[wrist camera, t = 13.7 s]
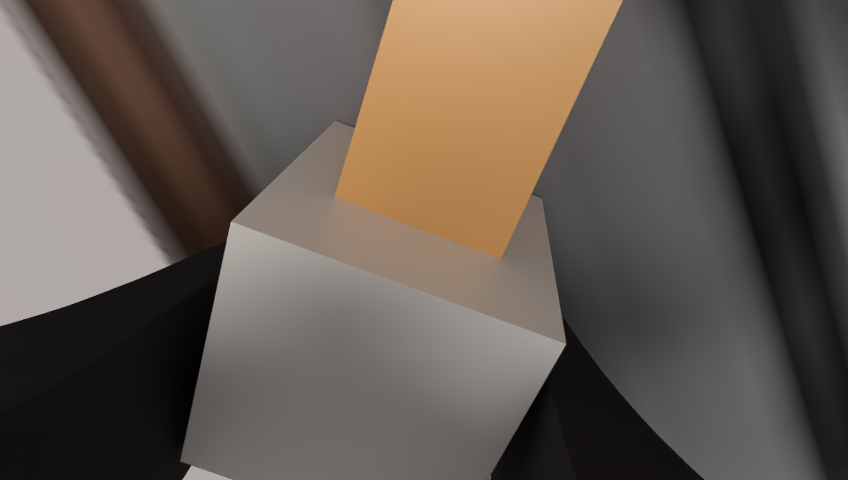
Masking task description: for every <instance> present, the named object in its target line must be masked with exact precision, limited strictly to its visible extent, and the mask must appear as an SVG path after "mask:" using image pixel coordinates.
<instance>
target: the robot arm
mask: <svg viewBox="0 0 848 480" xmlns="http://www.w3.org/2000/svg"><path fill="white" fill-rule="evenodd" d="M226 243H227V242H225V243H222V244H220V245H217V246H215V247H212V248H210V249H207V250H205V251H203V252H200V253H198V254H196V255H193V256H191V257H189V258H186V259H184V260H182V261H180V262H177V263H175V264H173V265H170V266H168V267H166V268H163V269H161V270H159V271H156V272H154V273H152V274H149V275H147V276H145V277H142V278H140V279H137V280H135V281H132V282H130V283H127V284H124V285H122V286H119V287H117V288H114V289H112V290H109V291H106V292H104V293H101V294H98V295H96V296H93V297H90V298H88V299H85V300H83V301H80V302H77V303H74V304H71V305H69V306H66V307H63V308H60V309H56V310H53V311H50V312H47V313H44V314H41V315H37V316H34V317H31V318H27V319H24V320H21V321H17V322H14V323H11V324H7V325H3V326H0V480H182V479H183V478H184V476H185V475H186V473H187V471H188V470H189V468H190V467H191V465H189V464H186V463H184V462H181V461H180V460H181V456H182V451H183V446H184V442H185V437H186V432H187V427H188V423H189V418H190V413H191V408H192V404H193V399H194V394H195V389H196V385H197V380H198V375H199V371H200V366H201V361H202V356H203V352H204V347H205V342H206V337H207V333H208V328H209V323H210V318H211V314H212V309H213V304H214V299H215V295H216V290H217V285H218V281H219V276H220V271H221V266H222V262H223V257H224V252H225V247H226ZM562 321H563V327H564V333H565V339H566V346H565V347H564V349H563V351H562V352H561V354H560V356H559V358H558V359H557V361H556V363H555V364H554V366H553V368H552V370H551V371H550V373H549V375H548V377H547V378H546V380H545V382H544V383H543V385H542V387H541V389H540V390H539V392H538V394H537V396H536V397H535V399H534V401H533V402H532V404H531V406H530V408H529V409H528V411H527V413H526V414H525V416H524V418H523V420H522V421H521V423H520V425H519V427H518V428H517V430H516V432H515V433H514V435H513V437H512V439H511V440H510V442H509V444H508V446H507V447H506V449H505V451H504V452H503V454H502V456H501V458H500V459H499V461H498V463H497V464H496V466H495V468H494V470H493V471H492V473H491V480H704V479H703V478H702V477H701V476H700V475H699V474H697V473H696V472H695V471H694V470H693V469H692V468H691V467H690V466H689V465H688V464H687V463H686V462H685V461H684V460H683V459H682V458H681V457H680V456H679V455H677V454H676V453H675V452H674V451H673V450H672V449H671V448H670V447H669V446H668V445H667V444H666V443H665V442H664V441H663V440H662V439H661V438H660V437H659V436H658V435H657V434H656V433H655V432H654V431H653V430H652V429H651V428H650V426H649V425H648V424H647V423H646V422H645V421H644V420H643V419H642V418H641V417H640V416H639V415H638V413H637V412H636V411H635V410H634V409H633V408H632V406H631V405H630V404H629V403H628V402H627V401H626V400H625V398H624V397H623V396H622V395H621V394H620V393H619V392H618V390H617V389H616V388H615V387H614V385H613V384H612V383H611V382H610V381H609V379H608V378H607V377H606V376H605V374H604V373H603V372H602V371H601V369H600V368H599V367H598V365H597V364H596V363H595V361H594V360H593V359H592V357H591V356H590V355H589V353H588V352H587V351H586V349H585V348H584V347H583V345H582V344H581V343H580V341H579V340H578V338H577V337H576V335H575V334H574V333H573V331H572V330H571V328H570V327H569V326H568V324H567V323H566V321H565V320H564V318H563V317H562Z"/></svg>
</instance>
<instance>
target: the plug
mask: <svg viewBox="0 0 848 480" xmlns="http://www.w3.org/2000/svg"><path fill="white" fill-rule="evenodd" d="M622 1H623V0H393V2H392V5H391V9H390V12H389V15H388V19H387V22H386V25H385V29H384V32H383V35H382V39H381V42H380V45H379V49H378V52H377V55H376V59H375V62H374V66H373V69H372V72H371V76H370V79H369V82H368V86H367V89H366V92H365V96H364V99H363V102H362V106H361V109H360V112H359V116H358V119H357V123H356V126H355V128H354V127H351V126H348V125H346V124H343V123H340V122H338V121H334V122H333V123H332V124H331V125H330V126H329V127H328V128H327V129H326V130H325V131H324V132H323V133H322V134H321V135H320V136H319V137H318V138H317V139H316V140H315V141H314V142H313V143H312V144H311V145H310V146H309V147H307V148H306V149H305V150H304V151H303V152H302V153H301V154H300V155H299V156H298V157H297V158H296V159H295V160H294V161H293V162H292V163H291V164H290V165H289V166H288V167H287V168H286V169H285V170H284V171H283V172H282V173H281V174H280V175H279V176H278V177H277V178H275V179H274V180H273V181H272V182H271V183H270V184H269V185H268V186H267V187H266V188H265V189H264V190H263V191H262V192H261V193H260V194H259V195H258V196H257V197H256V198H255V199H254V200H253V201H252V202H251V203H250V204H249V205H248V206H247V207H246V208H245V209H243V210H242V211H241V212H240V213H239V214H238V215H237V216H236V217H235V218H234V219H233V220H232V221H231V224H230V228H229V233H228V238H227V243H226V247H225V252H224V257H223V262H222V266H221V271H220V276H219V281H218V285H217V290H216V295H215V299H214V304H213V309H212V314H211V318H210V323H209V328H208V333H207V337H206V342H205V347H204V352H203V356H202V361H201V366H200V371H199V375H198V380H197V385H196V389H195V394H194V399H193V404H192V408H191V413H190V418H189V423H188V427H187V432H186V437H185V442H184V446H183V451H182V456H181V460H180V461H181V462H184V463H186V464H189V465H192V466H195V467H198V468H201V469H204V470H207V471H210V472H213V473H215V474H218V475H221V476H224V477H227V478H230V479H233V480H488V478H489V477H490V475H491V473H492V471H493V470H494V468H495V466H496V464H497V463H498V461H499V459H500V458H501V456H502V454H503V452H504V451H505V449H506V447H507V446H508V444H509V442H510V440H511V439H512V437H513V435H514V433H515V432H516V430H517V428H518V427H519V425H520V423H521V421H522V420H523V418H524V416H525V414H526V413H527V411H528V409H529V408H530V406H531V404H532V402H533V401H534V399H535V397H536V396H537V394H538V392H539V390H540V389H541V387H542V385H543V383H544V382H545V380H546V378H547V377H548V375H549V373H550V371H551V370H552V368H553V366H554V364H555V363H556V361H557V359H558V358H559V356H560V354H561V352H562V351H563V349H564V347H565V346H566V339H565V333H564V327H563V321H562V315H561V309H560V303H559V297H558V291H557V286H556V280H555V274H554V268H553V262H552V256H551V250H550V244H549V238H548V232H547V226H546V220H545V214H544V208H543V202H542V198H540V197H537V196H535V195H532V192H533V190H534V187H535V185H536V183H537V181H538V179H539V177H540V175H541V173H542V171H543V168H544V166H545V164H546V162H547V160H548V158H549V156H550V154H551V151H552V149H553V147H554V145H555V143H556V141H557V139H558V137H559V135H560V132H561V130H562V128H563V126H564V124H565V122H566V120H567V118H568V115H569V113H570V111H571V109H572V107H573V105H574V103H575V101H576V98H577V96H578V94H579V92H580V90H581V88H582V86H583V84H584V82H585V79H586V77H587V75H588V73H589V71H590V69H591V67H592V65H593V62H594V60H595V58H596V56H597V54H598V52H599V50H600V48H601V46H602V43H603V41H604V39H605V37H606V35H607V33H608V31H609V29H610V26H611V24H612V22H613V20H614V18H615V16H616V14H617V12H618V9H619V7H620V5H621V3H622Z"/></svg>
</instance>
